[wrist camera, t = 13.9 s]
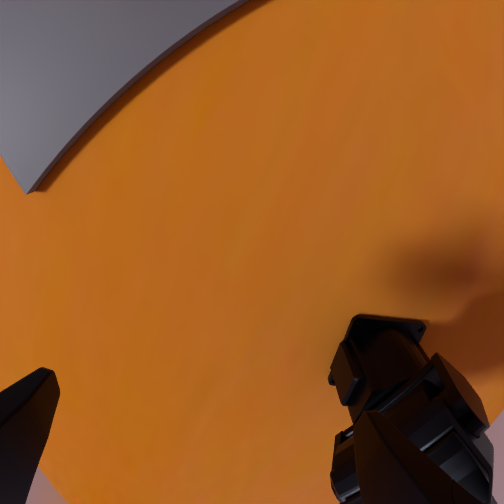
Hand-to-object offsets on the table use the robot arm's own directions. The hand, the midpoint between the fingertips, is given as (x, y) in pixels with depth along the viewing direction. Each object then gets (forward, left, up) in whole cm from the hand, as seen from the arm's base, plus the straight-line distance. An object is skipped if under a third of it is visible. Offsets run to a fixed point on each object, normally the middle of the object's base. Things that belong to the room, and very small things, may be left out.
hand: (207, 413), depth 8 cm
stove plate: (+12, -16, -13) cm, 24 cm away
